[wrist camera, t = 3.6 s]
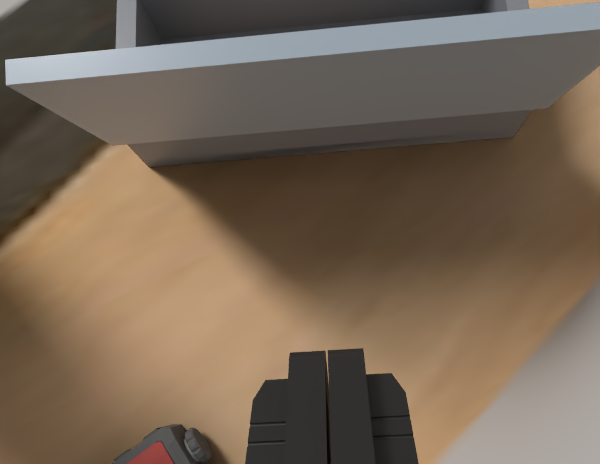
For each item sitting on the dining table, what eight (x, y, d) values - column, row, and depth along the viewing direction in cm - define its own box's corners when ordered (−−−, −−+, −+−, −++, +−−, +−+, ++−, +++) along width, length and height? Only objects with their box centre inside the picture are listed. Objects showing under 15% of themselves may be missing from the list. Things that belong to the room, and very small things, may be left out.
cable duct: (513, 137, 37) (544, 92, 31) (148, 167, 39) (113, 129, 33) (492, 2, 40) (516, -63, 34) (150, 35, 41) (117, -21, 35)
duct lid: (545, 90, 31) (547, 108, 31) (111, 128, 33) (112, 145, 33) (647, -3, 21) (650, 24, 21) (5, 59, 22) (6, 85, 22)
